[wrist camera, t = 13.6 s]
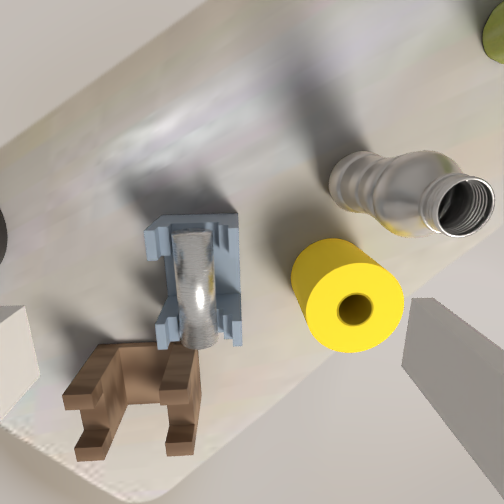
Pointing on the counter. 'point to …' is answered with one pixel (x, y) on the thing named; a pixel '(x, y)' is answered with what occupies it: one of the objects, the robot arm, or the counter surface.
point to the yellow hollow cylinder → (346, 296)
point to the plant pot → (495, 34)
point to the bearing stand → (135, 393)
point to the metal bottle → (413, 193)
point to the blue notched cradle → (224, 266)
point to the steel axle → (195, 286)
